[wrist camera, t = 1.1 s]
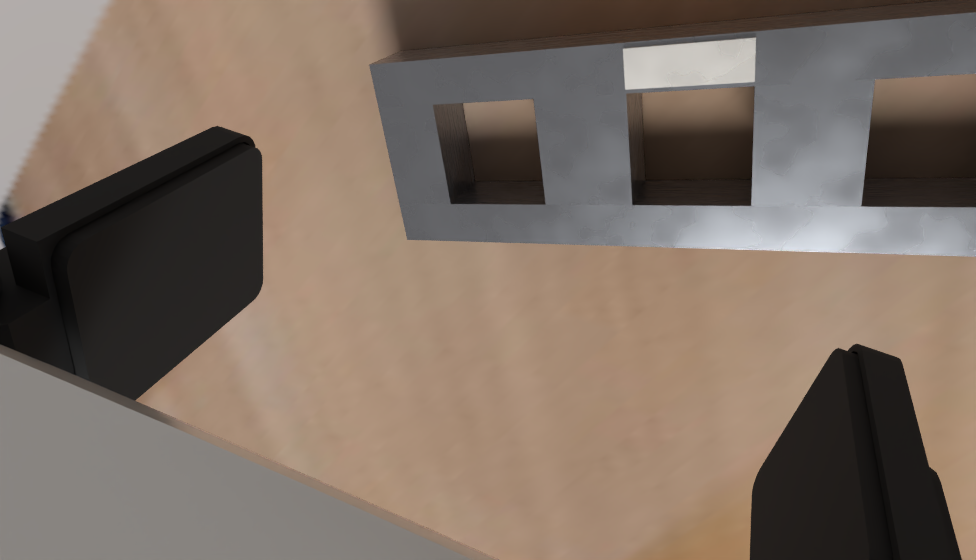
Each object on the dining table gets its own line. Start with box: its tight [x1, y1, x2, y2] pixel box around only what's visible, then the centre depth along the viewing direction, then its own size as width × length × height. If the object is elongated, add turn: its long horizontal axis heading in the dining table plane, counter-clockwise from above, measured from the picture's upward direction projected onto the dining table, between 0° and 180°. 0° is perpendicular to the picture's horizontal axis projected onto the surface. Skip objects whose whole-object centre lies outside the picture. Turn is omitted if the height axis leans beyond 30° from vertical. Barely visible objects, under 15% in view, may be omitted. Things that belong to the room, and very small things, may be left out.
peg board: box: [369, 0, 976, 257], centre depth 33 cm, size 32×10×4 cm, turn 99°
